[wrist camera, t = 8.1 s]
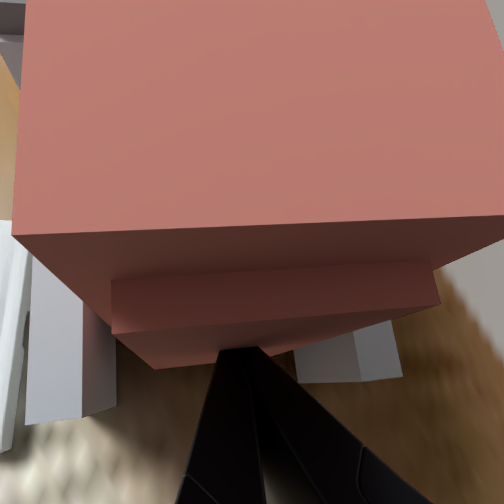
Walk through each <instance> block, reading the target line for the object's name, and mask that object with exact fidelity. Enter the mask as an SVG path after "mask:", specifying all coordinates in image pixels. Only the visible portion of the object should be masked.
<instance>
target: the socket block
mask: <svg viewBox="0 0 504 504" xmlns="http://www.w3.org/2000/svg"><path fill="white" fill-rule="evenodd" d="M25 11H26V0H0V53H1V55H2V57H3V59H4V61H5V62H6V64H7V66H8V68H9V70H10V72H11V74H12V76H13V78H14V80H15V82H16V84H17V85H18V87H19V89H21V74H22V58H23V43H24V27H25ZM293 351H294V358H295V365H296V372H297V380H298V383H334V382H365V381H373V380H381V379H388V378H396V377H403V374H402V370H401V365H400V360H399V356H398V351H397V346H396V342H395V337H394V332H393V328H392V323H391V320H388V321H385V322H382V323H378V324H375V325H372V326H369V327H365V328H362V329H359V330H356V331H352V332H349V333H346V334H343V335H339V336H336V337H333V338H330V339H326V340H323V341H320V342H317V343H313V344H310V345H307V346H304V347H300V348H297V349H294V350H293ZM115 406H117V396H116V337H115V336H113V335H112V328H111V327H110V326H109V325H108V324H107V323H106V322H105V321H104V320H103V319H101V318H100V317H99V316H98V315H97V314H96V313H95V312H94V311H93V310H92V309H91V308H90V307H88V306H87V305H86V304H85V303H84V302H83V301H82V300H81V299H80V298H79V297H78V296H77V295H75V294H74V293H73V292H72V291H71V290H70V289H69V288H68V287H67V286H66V285H65V284H64V283H62V282H61V281H60V280H59V279H58V278H57V277H56V276H55V275H54V274H53V273H52V272H50V271H49V270H48V269H47V268H46V267H45V266H44V265H43V264H42V263H41V262H40V261H39V260H37V259H36V258H35V257H34V256H33V263H32V284H31V306H30V327H29V348H28V369H27V391H26V412H25V425H31V424H39V423H47V422H55V421H62V420H70V419H78V418H83V417H86V416H89V415H92V414H95V413H98V412H101V411H104V410H107V409H109V408H112V407H115Z"/></svg>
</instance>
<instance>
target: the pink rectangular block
mask: <svg viewBox="0 0 504 504" xmlns="http://www.w3.org/2000/svg"><path fill="white" fill-rule="evenodd" d="M11 236H13V237H14V238H15V239H16V240H17V241H18V242H19V243H20V244H21V245H22V246H23V247H24V248H26V249H27V250H28V251H29V252H30V253H31V254H32V255H33V256H34V257H35V258H36V259H37V260H39V261H40V262H41V263H42V264H43V265H44V266H45V267H46V268H47V269H48V270H49V271H50V272H52V273H53V274H54V275H55V276H56V277H57V278H58V279H59V280H60V281H61V282H62V283H64V284H65V285H66V286H67V287H68V288H69V289H70V290H71V291H72V292H73V293H74V294H75V295H77V296H78V297H79V298H80V299H81V300H82V301H83V302H84V303H85V304H86V305H87V306H88V307H90V308H91V309H92V310H93V311H94V312H95V313H96V314H97V315H98V316H99V317H100V318H101V319H103V320H104V321H105V322H106V323H107V324H108V325H109V326H110V327H111V328H112V335H113V336H115V337H116V338H117V339H118V340H119V341H121V342H122V343H123V344H124V345H125V346H127V347H128V348H129V349H130V350H132V351H133V352H134V353H135V354H136V355H138V356H139V357H140V358H141V359H142V360H144V361H145V362H146V363H147V364H149V365H150V366H151V367H152V368H153V369H164V368H173V367H182V366H192V365H201V364H210V363H216V359H217V356H218V352H219V350H228V349H240V348H247V347H257V346H259V347H260V348H261V349H262V350H263V351H264V352H265V353H266V354H267V355H268V356H270V357H271V356H274V355H277V354H281V353H284V352H287V351H291V350H294V349H297V348H300V347H304V346H307V345H310V344H313V343H317V342H320V341H323V340H326V339H330V338H333V337H336V336H339V335H343V334H346V333H349V332H352V331H356V330H359V329H362V328H365V327H369V326H372V325H375V324H378V323H382V322H385V321H388V320H391V319H395V318H398V317H401V316H404V315H408V314H411V313H414V312H418V311H421V310H424V309H427V308H431V307H434V306H437V305H440V304H441V303H440V299H439V295H438V291H437V287H436V283H435V279H434V275H433V270H435V269H437V268H440V267H442V266H444V265H446V264H449V263H451V262H453V261H455V260H457V259H460V258H462V257H464V256H466V255H468V254H471V253H473V252H475V251H478V250H480V249H482V248H484V247H487V246H489V245H491V244H493V243H495V242H498V241H500V240H502V239H504V51H503V48H502V46H501V43H500V40H499V37H498V35H497V32H496V29H495V26H494V24H493V21H492V19H491V16H490V13H489V10H488V7H487V5H486V2H485V0H26V11H25V27H24V43H23V58H22V74H21V89H20V105H19V120H18V136H17V151H16V167H15V182H14V198H13V213H12V229H11Z"/></svg>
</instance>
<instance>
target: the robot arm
mask: <svg viewBox="0 0 504 504" xmlns="http://www.w3.org/2000/svg"><path fill="white" fill-rule="evenodd" d="M363 447H364V444H363V443H362V442H361V441H360V440H359V439H358V438H357V437H356V436H355V435H353V434H352V433H351V432H350V431H349V430H348V429H347V428H346V427H345V426H344V425H343V424H342V423H341V422H339V421H338V420H337V419H336V418H335V417H334V416H333V415H332V414H331V413H330V412H329V411H328V410H327V409H325V408H324V407H323V406H322V405H321V404H320V403H319V402H318V401H317V400H316V399H315V398H314V397H313V396H311V395H310V394H309V393H308V392H307V391H306V390H305V389H304V388H303V387H302V386H301V385H300V384H299V383H297V382H296V381H295V380H294V379H293V378H292V377H291V376H290V375H289V374H288V373H287V372H286V371H285V370H283V369H282V368H281V367H280V366H279V365H278V364H277V363H276V362H275V361H274V360H273V359H272V358H271V357H270V356H268V355H267V354H266V353H265V352H264V351H263V350H262V349H261V348H260V347H259V346H257V347H247V348H240V349H228V350H219V352H218V356H217V359H216V363H215V366H214V370H213V373H212V377H211V380H210V384H209V387H208V391H207V394H206V398H205V401H204V405H203V408H202V412H201V415H200V419H199V422H198V426H197V429H196V433H195V436H194V440H193V443H192V446H191V450H190V453H189V457H188V460H187V464H186V467H185V471H184V477H183V478H182V480H181V484H180V487H179V491H178V494H177V498H176V501H175V504H433V503H432V502H430V501H429V500H428V499H427V498H425V497H424V496H423V495H422V494H421V493H419V492H418V491H417V490H416V489H414V488H413V487H412V486H411V485H409V484H408V483H407V482H406V481H404V480H403V479H402V478H401V477H400V476H399V475H398V474H396V473H395V472H394V471H393V470H392V469H391V468H390V467H389V466H387V465H386V464H385V463H384V462H383V461H382V460H381V459H380V458H378V457H377V456H376V455H375V454H374V453H373V452H372V451H371V450H370V449H369V448H368V447H364V448H363Z"/></svg>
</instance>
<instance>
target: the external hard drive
mask: <svg viewBox="0 0 504 504" xmlns="http://www.w3.org/2000/svg"><path fill="white" fill-rule="evenodd" d="M11 229H12V221H4V220H0V453H2V452H4V451H7V450H9V449H11V448H12V440H13V432H14V425H15V417H16V410H17V403H18V395H19V388H20V380H21V373H22V365H23V358H24V347H23V339H24V331H25V324H26V317H27V314H28V313H29V311H30V306H31V284H32V263H33V255H32V254H31V253H30V252H29V251H28V250H27V249H26V248H24V247H23V246H22V245H21V244H20V243H19V242H18V241H17V240H16V239H15V238H14V237H13V236H11Z"/></svg>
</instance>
